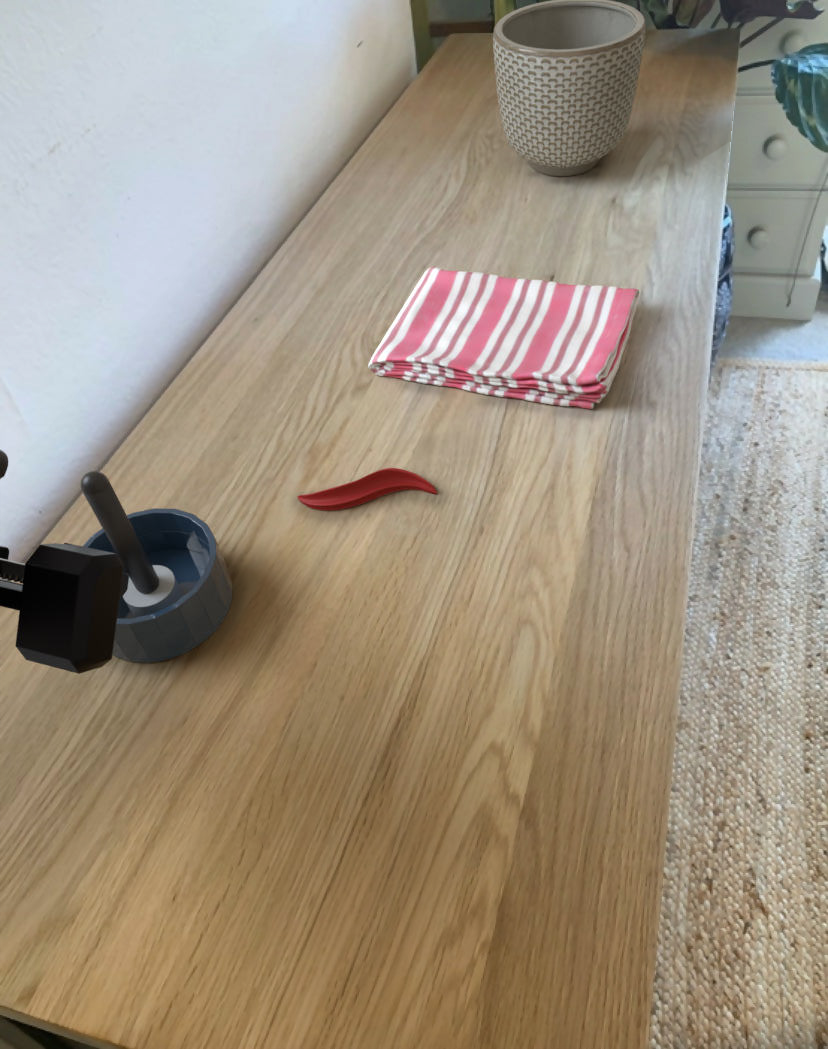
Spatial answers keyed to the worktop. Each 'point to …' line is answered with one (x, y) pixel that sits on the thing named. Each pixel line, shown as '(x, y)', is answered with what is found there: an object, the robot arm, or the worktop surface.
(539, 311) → the dish towel
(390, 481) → the cayenne pepper
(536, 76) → the planter
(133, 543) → the joystick
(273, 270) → the worktop surface
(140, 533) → the bowl
